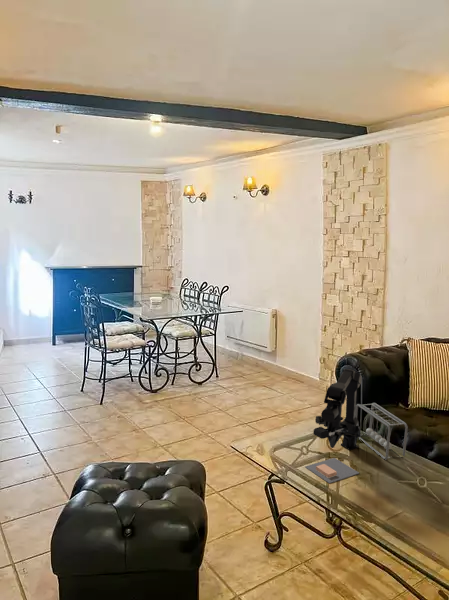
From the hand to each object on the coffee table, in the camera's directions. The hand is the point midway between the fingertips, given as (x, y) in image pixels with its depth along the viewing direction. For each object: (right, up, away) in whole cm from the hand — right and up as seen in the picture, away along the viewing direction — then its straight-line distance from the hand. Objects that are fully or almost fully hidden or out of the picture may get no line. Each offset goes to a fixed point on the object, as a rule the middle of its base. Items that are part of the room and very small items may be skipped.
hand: (332, 447), depth 228 cm
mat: (+1, -12, +4) cm, 12 cm away
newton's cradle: (+29, -8, +30) cm, 43 cm away
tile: (0, -10, +2) cm, 11 cm away
